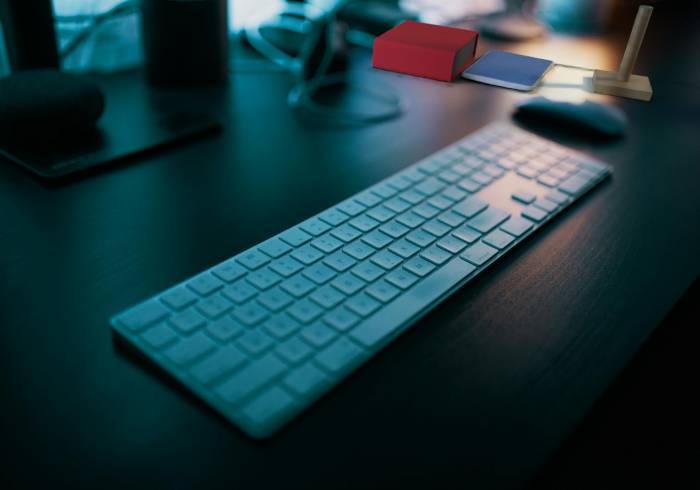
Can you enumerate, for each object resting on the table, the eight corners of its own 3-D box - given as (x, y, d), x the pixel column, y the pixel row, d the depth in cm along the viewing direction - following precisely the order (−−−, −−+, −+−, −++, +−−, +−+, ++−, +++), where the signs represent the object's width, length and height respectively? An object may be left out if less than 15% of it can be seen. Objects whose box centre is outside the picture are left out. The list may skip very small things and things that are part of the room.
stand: (645, 85, 104) (673, 5, 96) (649, 101, 97) (680, 16, 89) (592, 77, 106) (616, -2, 98) (593, 92, 99) (618, 8, 91)
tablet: (490, 54, 114) (491, 47, 114) (554, 66, 110) (556, 59, 109) (458, 80, 100) (460, 72, 99) (531, 95, 96) (533, 87, 95)
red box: (405, 45, 116) (408, 19, 113) (474, 57, 112) (479, 30, 109) (371, 68, 102) (374, 39, 99) (449, 83, 98) (454, 53, 95)
